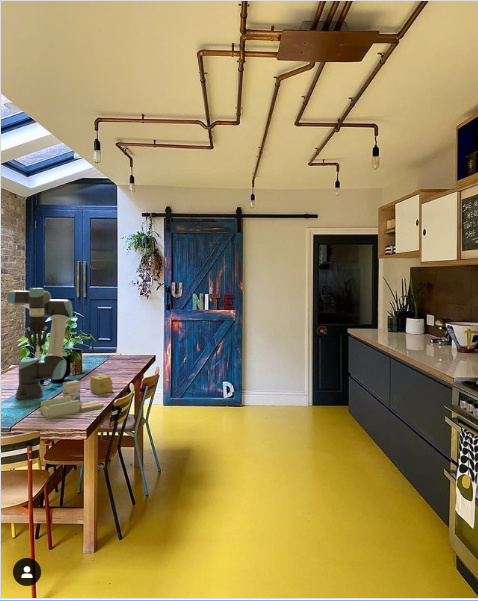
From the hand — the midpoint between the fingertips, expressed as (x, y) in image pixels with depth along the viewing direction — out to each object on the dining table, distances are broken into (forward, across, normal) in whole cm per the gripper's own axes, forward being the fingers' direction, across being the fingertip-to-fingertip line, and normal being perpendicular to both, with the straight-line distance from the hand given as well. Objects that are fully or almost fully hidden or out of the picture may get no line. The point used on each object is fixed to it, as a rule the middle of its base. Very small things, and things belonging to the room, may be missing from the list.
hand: (37, 357), depth 232 cm
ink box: (+30, +20, +3) cm, 36 cm away
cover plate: (+29, +22, -15) cm, 39 cm away
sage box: (+29, +6, -15) cm, 33 cm away
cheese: (+30, +44, +10) cm, 54 cm away
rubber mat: (+29, +21, -15) cm, 39 cm away
